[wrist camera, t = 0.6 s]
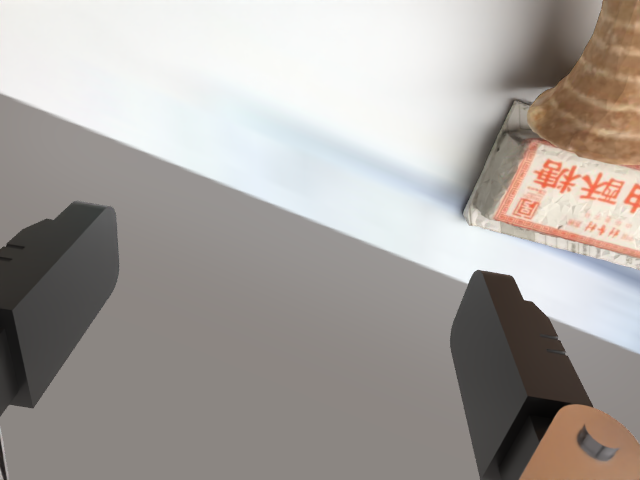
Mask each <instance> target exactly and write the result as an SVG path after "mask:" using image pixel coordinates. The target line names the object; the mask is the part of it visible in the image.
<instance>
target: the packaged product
mask: <svg viewBox="0 0 640 480" xmlns="http://www.w3.org/2000/svg"><path fill="white" fill-rule="evenodd" d="M529 107H530V105H527V104H524V103H521V102H518V101H516V100H515V101H514V103H513V105H512V107H511V109H510V111H509V113H508V115H507V117H506V119H505V122H504V124H503V126H502V128H501V130H500V132H499V134H498V136H497V138H496V141H495V143H494V145H493V147H492V149H491V151H490V154H489V156H488V158H487V160H486V163H485V166H484V168H483V171H482V173H481V175H480V177H479V179H478V181H477V183H476V185H475V187H474V189H473V192H472V194H471V196H470V198H469V201H468V203H467V205H466V207H465V210H464V212H463V216H464V217H465V219H466V221H467V222H468V224H469V226H479V227H481V228H483V229H489V230H492V231H495V232H499V233H503V234H507V235H511V236H515V237H518V238H522V239H527V240H530V241H533V242H537V243H541V244H545V245H549V246H551V247H555V248H558V249H564V250H568V251H571V252H574V253H578V254H582V255H586V256H590V257H593V258H597V259H603V260H606V261H609V262H612V263H616V264H619V265H623V266H627V267H631V268H634V269H638V270H640V165H613V164H608V163H604V162H600V161H596V160H591V159H587V158H582V157H578V156H577V155H576V154H575V153H574V152H570V151H566V150H563V149H560V148H558V147H556V146H554V145H553V144H552V143H550V142H549V141H547V140H545V139H543V138H541V137H539V135H538V134H537V133H536V132H533V131H532V129H531V128H530V127H529V125H528V122H527V112H528V110H529Z"/></svg>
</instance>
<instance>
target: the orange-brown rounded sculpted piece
mask: <svg viewBox="0 0 640 480" xmlns="http://www.w3.org/2000/svg"><path fill="white" fill-rule="evenodd" d="M527 122H528V125H529V127H530V128H531V129H532V131H533V132H536V133H537V134H538V135H539V137H541V138H543V139H545V140H547V141H549V142H550V143H552V144H553V145H554V146H556V147H558V148H560V149H563V150H566V151H570V152H574V153H575V154H576V155H577V156H578V157H582V158H587V159H591V160H596V161H600V162H604V163H608V164H613V165H640V0H603V3H602V8H601V12H600V15H599V18H598V21H597V24H596V27H595V30H594V33H593V35H592V37H591V39H590V40H589V42H588V44H587V45H586V47H585V49H584V51H583V53H582V56H581V57H580V58H579V60H578V61H577V63H576V64H575V66H574V67H573V69H572V70H571V72H570V73H569V74H568V75H567V76H565V77H564V78H563V79H561V80H560V81H559V82H558V84H557V85H556V87H554V88H551V89H548V90H546V91H544V92H543V93H542V94H540V95H539V96H538V97H537V98H536V100H535V101H534V102H533V104H532V105H531V106H530V107H529V110H528V112H527Z"/></svg>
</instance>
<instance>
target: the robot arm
mask: <svg viewBox="0 0 640 480" xmlns="http://www.w3.org/2000/svg"><path fill="white" fill-rule="evenodd" d="M118 274H119V255H118V239H117V223H116V214H115V211H114V209H113V208H112V207H110V206H104V205H99V204H93V203H87V202H81V201H74V202H73V203H71V204H70V205H69V206H68V207H67V208H66V209H65V210H64V211H63V212H62V213H61V214H60V215H59V216H58V217H57V218H55V219H54V220H51V219H45V220H43V221H40V222H38V223H36V224H34V225H31V226H29V227H27V228H25V229H23V230H22V231H20V232H19V233H18V234H17V235H16V236H15V237H14V238H12V239H11V240H10V241H9V242H8V243H7V245H6V247H2V248H1V249H0V416H1V415H2V413H3V412H4V411H5V409H6V408H7V406H8V405H15V406H22V407H28V408H34V406H35V405H36V404H37V402H38V401H39V399H40V398H41V396H42V395H43V393H44V392H45V390H46V389H47V387H48V386H49V385H50V383H51V382H52V380H53V379H54V377H55V376H56V374H57V373H58V371H59V370H60V368H61V367H62V365H63V364H64V362H65V361H66V360H67V358H68V357H69V355H70V354H71V352H72V351H73V349H74V348H75V346H76V345H77V343H78V342H79V341H80V339H81V338H82V336H83V335H84V333H85V332H86V330H87V329H88V327H89V326H90V324H91V323H92V321H93V320H94V319H95V317H96V315H97V314H98V313H99V311H100V310H101V308H102V307H103V305H104V304H105V302H106V300H107V299H108V298H109V296H110V295H111V293H112V292H113V290H114V288H115V285H116V282H117V278H118ZM450 347H451V353H452V357H453V361H454V366H455V370H456V375H457V379H458V383H459V388H460V392H461V396H462V401H463V405H464V410H465V414H466V419H467V423H468V427H469V432H470V436H471V440H472V445H473V449H474V454H475V458H476V463H477V467H478V471H479V476H480V480H640V444H639V443H638V441H637V440H636V438H635V437H634V436H633V435H632V434H631V432H630V431H629V430H628V429H627V428H626V427H625V426H623V425H622V424H621V423H620V422H618V421H617V420H616V419H614V418H613V417H611V416H610V415H608V414H606V413H604V412H602V411H600V410H598V409H595V408H594V407H593V405H592V403H591V401H590V399H589V397H588V395H587V393H586V391H585V389H584V387H583V385H582V383H581V381H580V379H579V377H578V375H577V373H576V372H575V370H574V367H573V366H572V363H571V361H570V360H569V357H568V356H566V355H565V349H564V348H563V346H562V344H561V341H559V340H558V335H557V334H556V332H555V330H554V328H553V326H552V324H551V322H550V320H549V318H548V317H547V316H546V315H545V314H544V313H543V312H542V311H541V310H540V309H539V308H538V307H537V306H536V305H535V304H534V303H533V302H531V301H525V300H524V299H523V297H522V295H521V293H520V291H519V288H518V286H517V284H516V282H515V280H514V278H513V277H512V276H510V275H505V274H499V273H493V272H487V271H481V270H477V271H475V272H474V273H473V275H472V277H471V279H470V281H469V284H468V287H467V289H466V292H465V294H464V296H463V299H462V301H461V304H460V307H459V309H458V312H457V314H456V317H455V319H454V322H453V325H452V329H451V336H450ZM0 480H9V475H8V469H7V463H6V457H5V452H4V446H3V439H2V433H1V427H0Z"/></svg>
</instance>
